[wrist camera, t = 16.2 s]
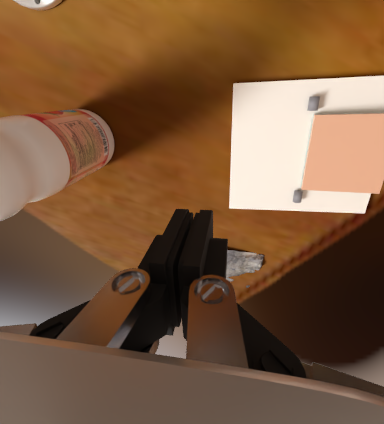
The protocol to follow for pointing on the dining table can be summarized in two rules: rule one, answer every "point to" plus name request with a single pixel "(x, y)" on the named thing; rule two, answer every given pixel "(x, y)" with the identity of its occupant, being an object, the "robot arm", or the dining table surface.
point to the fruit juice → (49, 154)
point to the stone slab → (242, 263)
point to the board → (291, 140)
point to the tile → (345, 153)
